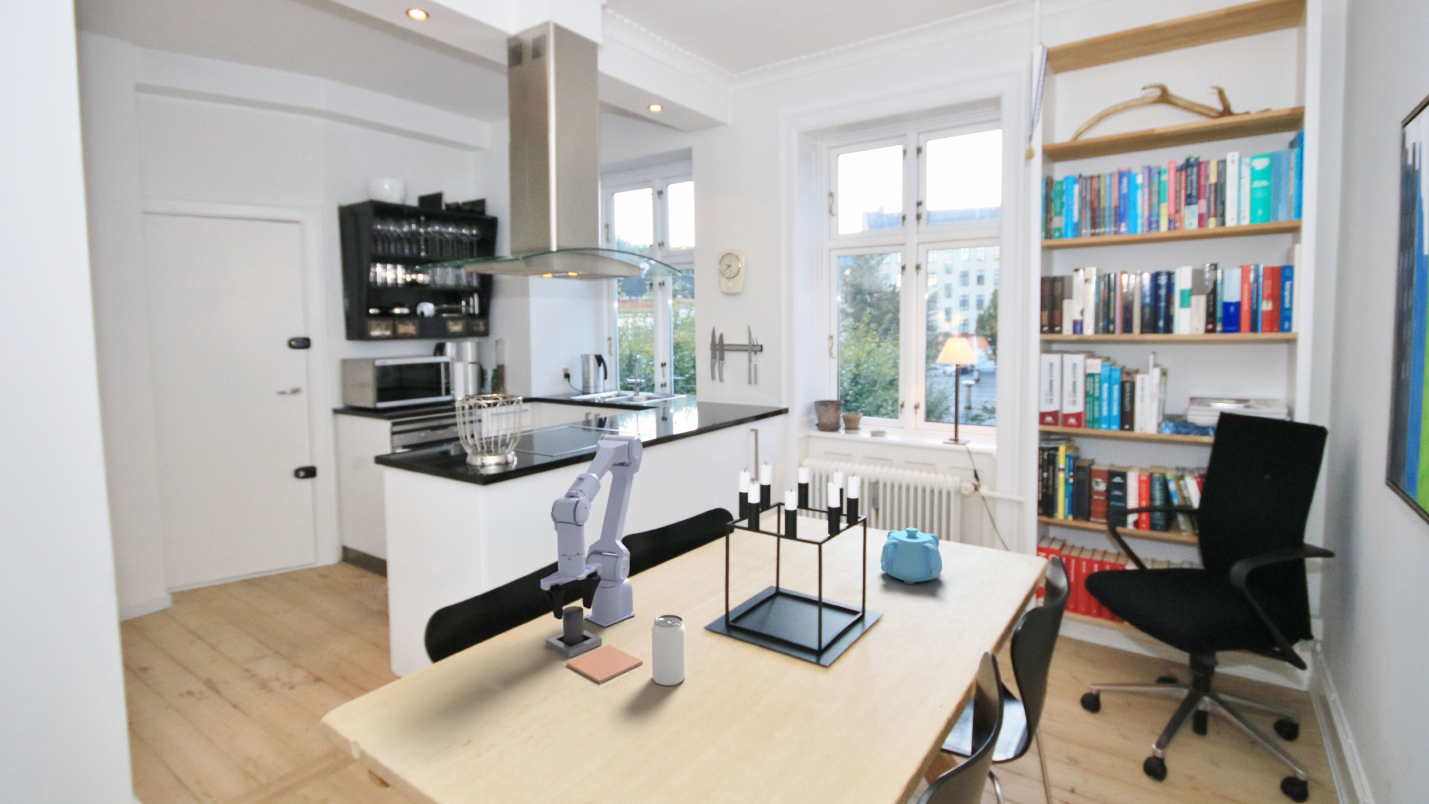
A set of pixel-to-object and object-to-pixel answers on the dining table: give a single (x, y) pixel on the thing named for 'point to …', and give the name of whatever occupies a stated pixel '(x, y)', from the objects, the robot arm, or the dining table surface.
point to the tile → (604, 663)
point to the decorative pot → (911, 556)
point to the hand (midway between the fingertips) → (572, 612)
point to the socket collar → (559, 646)
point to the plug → (573, 625)
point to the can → (668, 650)
